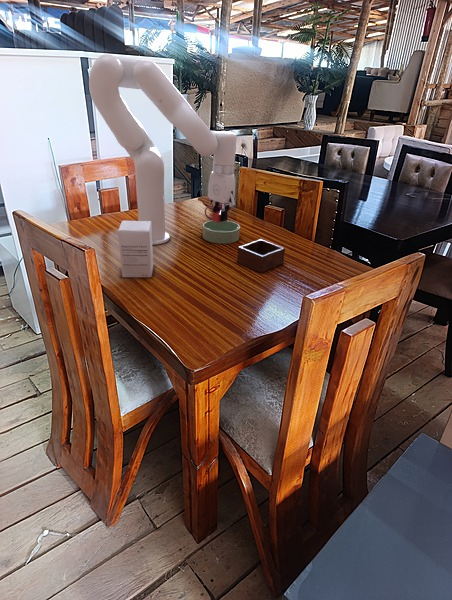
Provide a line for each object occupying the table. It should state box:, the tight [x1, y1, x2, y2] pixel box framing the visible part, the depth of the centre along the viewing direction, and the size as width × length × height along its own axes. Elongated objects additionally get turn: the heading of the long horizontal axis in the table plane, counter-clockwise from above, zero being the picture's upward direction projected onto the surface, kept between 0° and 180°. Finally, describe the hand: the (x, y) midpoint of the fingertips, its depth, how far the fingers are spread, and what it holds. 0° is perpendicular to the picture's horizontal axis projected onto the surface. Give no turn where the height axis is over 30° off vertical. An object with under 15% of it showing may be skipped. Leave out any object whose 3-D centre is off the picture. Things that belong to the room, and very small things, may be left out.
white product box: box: [117, 220, 154, 278], centre depth 120 cm, size 9×9×15 cm
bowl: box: [201, 219, 241, 245], centre depth 153 cm, size 14×14×4 cm
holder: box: [236, 238, 286, 274], centre depth 133 cm, size 12×11×6 cm
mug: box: [204, 204, 230, 221], centre depth 168 cm, size 7×10×7 cm
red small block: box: [211, 211, 229, 223], centre depth 150 cm, size 5×3×3 cm
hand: (219, 218), depth 150 cm, fingers closed on red small block, 3 cm apart
